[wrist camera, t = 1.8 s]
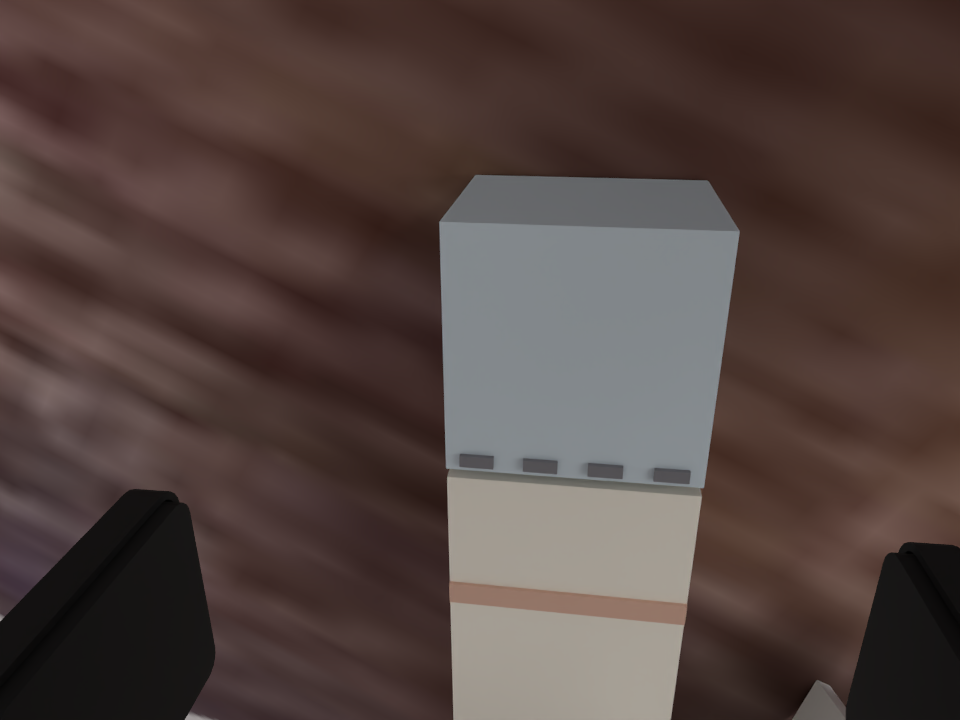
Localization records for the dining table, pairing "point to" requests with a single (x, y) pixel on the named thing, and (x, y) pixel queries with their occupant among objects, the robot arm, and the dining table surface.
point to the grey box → (584, 326)
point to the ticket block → (567, 595)
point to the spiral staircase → (821, 704)
